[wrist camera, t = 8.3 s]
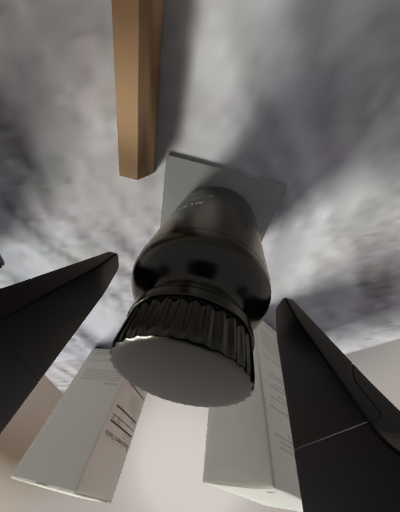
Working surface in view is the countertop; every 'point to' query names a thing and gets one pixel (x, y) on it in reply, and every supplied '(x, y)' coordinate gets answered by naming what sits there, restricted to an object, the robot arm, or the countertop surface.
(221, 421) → the small box
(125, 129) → the frame
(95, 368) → the supplement box
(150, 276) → the supplement bottle
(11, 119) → the countertop surface
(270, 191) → the slate mat
